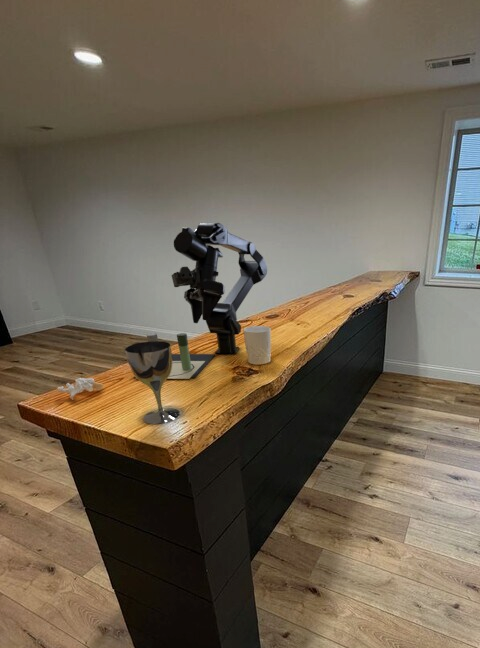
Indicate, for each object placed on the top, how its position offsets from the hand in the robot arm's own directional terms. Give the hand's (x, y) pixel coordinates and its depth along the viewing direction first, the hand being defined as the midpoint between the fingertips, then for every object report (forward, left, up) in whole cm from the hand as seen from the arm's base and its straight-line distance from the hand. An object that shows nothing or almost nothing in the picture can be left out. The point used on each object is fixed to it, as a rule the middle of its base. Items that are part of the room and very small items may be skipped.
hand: (199, 321), depth 98 cm
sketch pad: (+2, -7, -12) cm, 15 cm away
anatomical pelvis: (+22, -22, -13) cm, 34 cm away
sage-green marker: (+6, -3, -12) cm, 14 cm away
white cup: (-2, +16, -13) cm, 20 cm away
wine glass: (+33, +1, -13) cm, 36 cm away
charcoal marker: (+6, -11, -12) cm, 18 cm away
